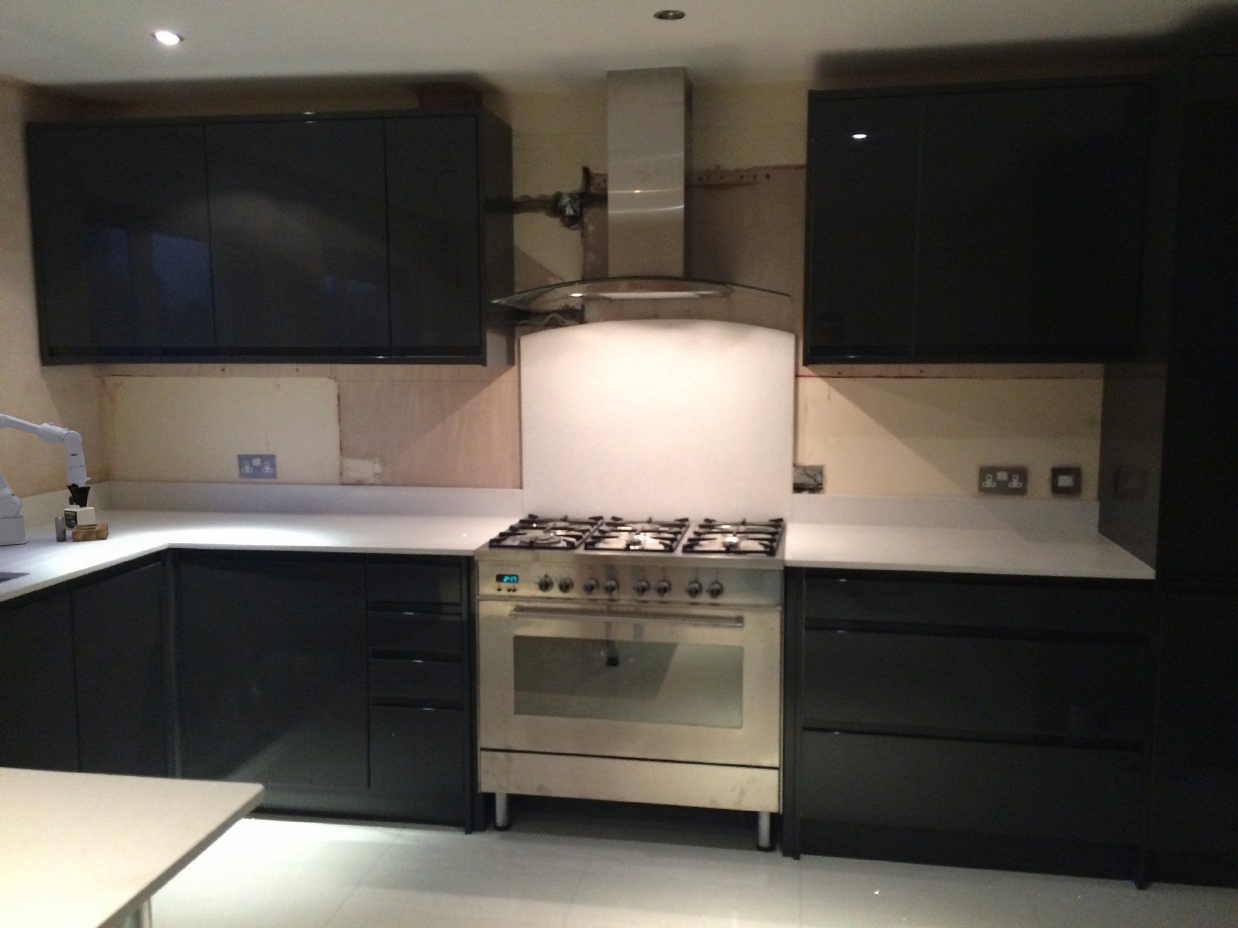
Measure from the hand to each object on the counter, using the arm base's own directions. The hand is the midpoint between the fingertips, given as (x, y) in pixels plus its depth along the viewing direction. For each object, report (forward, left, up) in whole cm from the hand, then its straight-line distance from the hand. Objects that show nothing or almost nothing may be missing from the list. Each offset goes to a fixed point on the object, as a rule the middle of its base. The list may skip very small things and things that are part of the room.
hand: (81, 505), depth 342 cm
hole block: (+2, -3, -11) cm, 11 cm away
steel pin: (-6, -6, -11) cm, 13 cm away
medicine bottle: (-2, +20, -11) cm, 23 cm away
